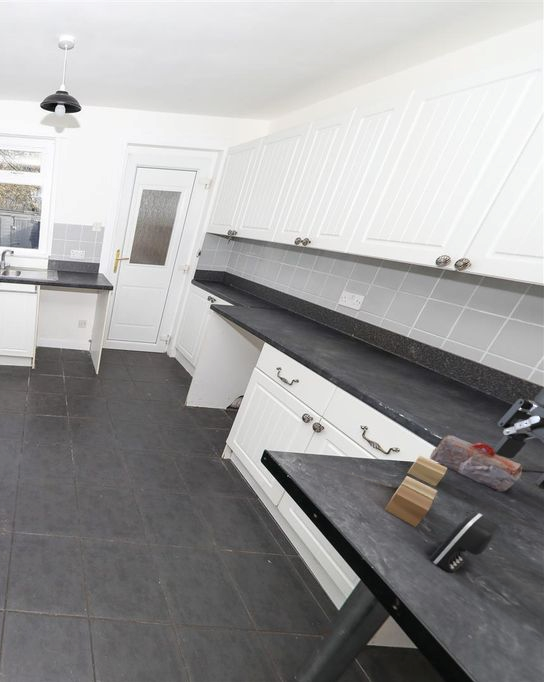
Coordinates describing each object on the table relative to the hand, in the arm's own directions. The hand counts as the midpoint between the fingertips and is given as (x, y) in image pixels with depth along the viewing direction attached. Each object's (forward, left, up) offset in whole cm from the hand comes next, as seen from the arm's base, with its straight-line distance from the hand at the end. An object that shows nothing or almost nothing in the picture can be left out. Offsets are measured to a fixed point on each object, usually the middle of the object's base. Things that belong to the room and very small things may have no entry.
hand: (522, 471), depth 55 cm
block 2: (-2, -16, -23) cm, 28 cm away
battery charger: (-1, 0, -23) cm, 23 cm away
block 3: (+1, -11, -23) cm, 26 cm away
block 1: (-10, -29, -23) cm, 38 cm away
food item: (-23, -39, -23) cm, 51 cm away
